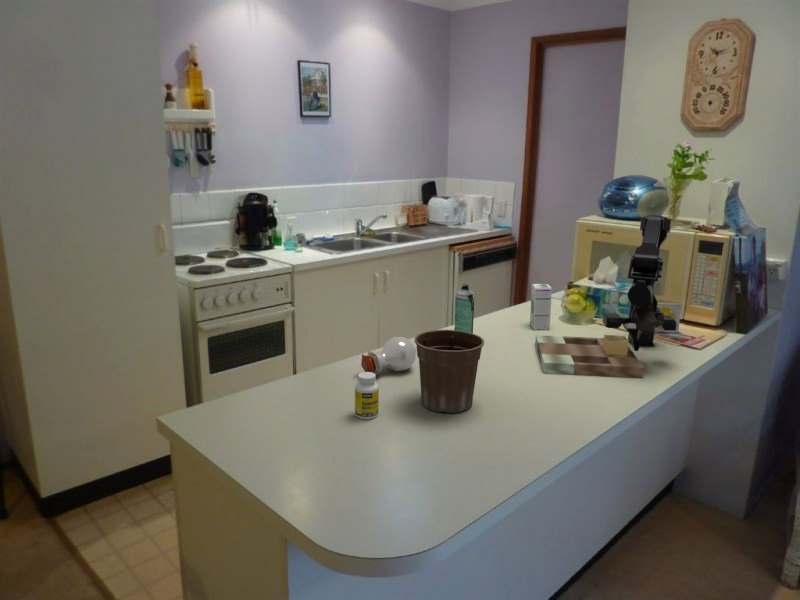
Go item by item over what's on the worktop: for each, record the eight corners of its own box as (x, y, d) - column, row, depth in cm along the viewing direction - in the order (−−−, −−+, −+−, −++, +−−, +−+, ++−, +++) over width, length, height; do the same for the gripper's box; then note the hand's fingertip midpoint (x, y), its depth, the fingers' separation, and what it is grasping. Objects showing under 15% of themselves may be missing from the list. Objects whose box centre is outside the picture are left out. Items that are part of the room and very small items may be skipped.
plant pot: (444, 384, 160) (446, 324, 155) (495, 403, 148) (498, 339, 144) (399, 402, 149) (400, 338, 144) (450, 424, 137) (452, 356, 133)
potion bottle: (417, 372, 172) (372, 389, 164) (400, 345, 176) (354, 360, 168) (427, 352, 165) (380, 370, 157) (408, 325, 169) (361, 340, 162)
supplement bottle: (360, 422, 138) (360, 381, 136) (351, 412, 143) (350, 372, 140) (382, 417, 141) (382, 376, 138) (372, 408, 145) (372, 368, 143)
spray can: (475, 348, 186) (478, 284, 181) (467, 353, 182) (469, 287, 177) (458, 345, 189) (461, 281, 184) (450, 350, 185) (452, 285, 180)
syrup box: (549, 330, 205) (553, 287, 201) (532, 329, 205) (534, 287, 201) (546, 325, 210) (549, 283, 207) (528, 324, 211) (531, 283, 207)
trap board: (622, 348, 188) (623, 339, 187) (642, 378, 165) (644, 367, 164) (535, 344, 191) (535, 335, 190) (543, 373, 168) (544, 362, 167)
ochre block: (622, 348, 179) (624, 335, 178) (627, 355, 173) (628, 341, 172) (602, 347, 179) (604, 334, 178) (606, 354, 174) (608, 340, 173)
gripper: (613, 303, 165) (607, 359, 169) (686, 306, 163) (679, 362, 167) (604, 293, 175) (599, 345, 179) (673, 295, 173) (666, 348, 177)
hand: (635, 350), depth 175 cm, fingers closed
